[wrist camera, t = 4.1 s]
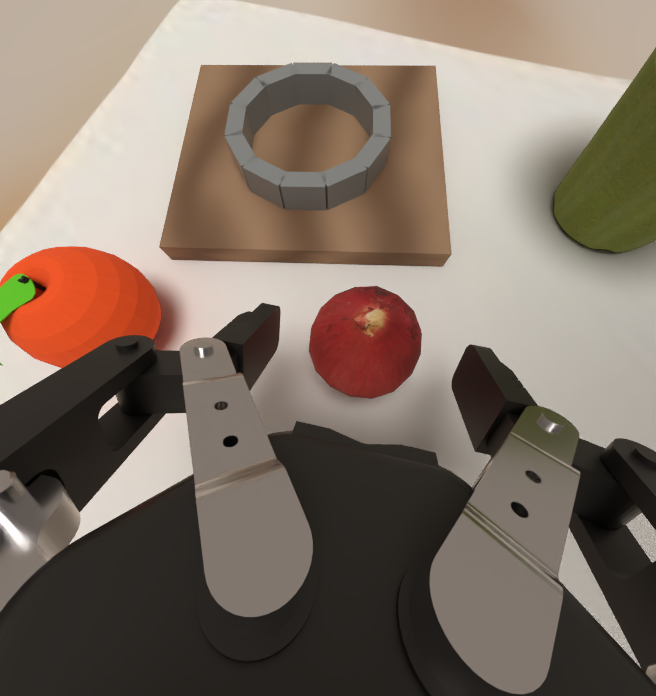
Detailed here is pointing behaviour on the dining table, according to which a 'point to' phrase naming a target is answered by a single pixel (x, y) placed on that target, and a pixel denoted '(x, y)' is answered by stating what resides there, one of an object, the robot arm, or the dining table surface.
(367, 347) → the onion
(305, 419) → the dining table surface
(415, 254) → the board
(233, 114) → the ring
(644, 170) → the plant pot
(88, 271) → the clementine
